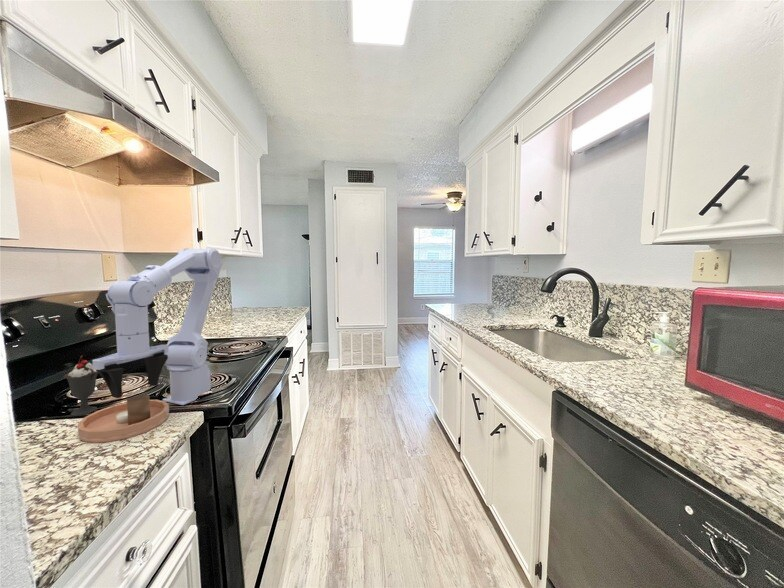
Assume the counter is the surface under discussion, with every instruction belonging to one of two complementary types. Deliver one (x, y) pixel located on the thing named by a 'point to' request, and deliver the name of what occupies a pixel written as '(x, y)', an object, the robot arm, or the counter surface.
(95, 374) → the sundae
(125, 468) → the counter surface
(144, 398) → the brown cylinder
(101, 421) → the groove tray
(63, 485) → the counter surface
